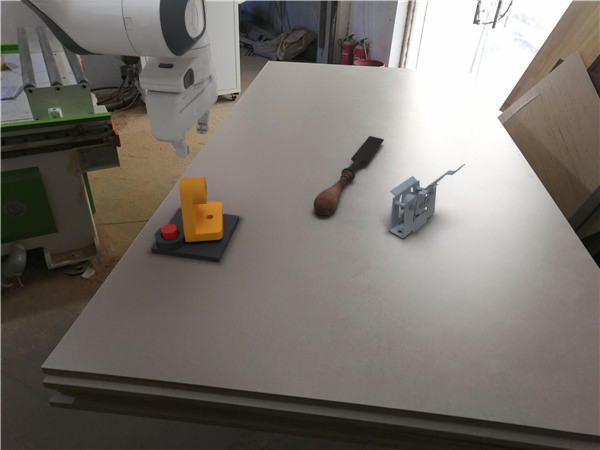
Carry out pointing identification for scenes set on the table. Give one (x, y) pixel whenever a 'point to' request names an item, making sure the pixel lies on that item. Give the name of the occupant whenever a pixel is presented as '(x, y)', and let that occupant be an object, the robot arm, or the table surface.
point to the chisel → (346, 176)
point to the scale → (195, 249)
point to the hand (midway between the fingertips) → (193, 143)
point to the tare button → (169, 231)
